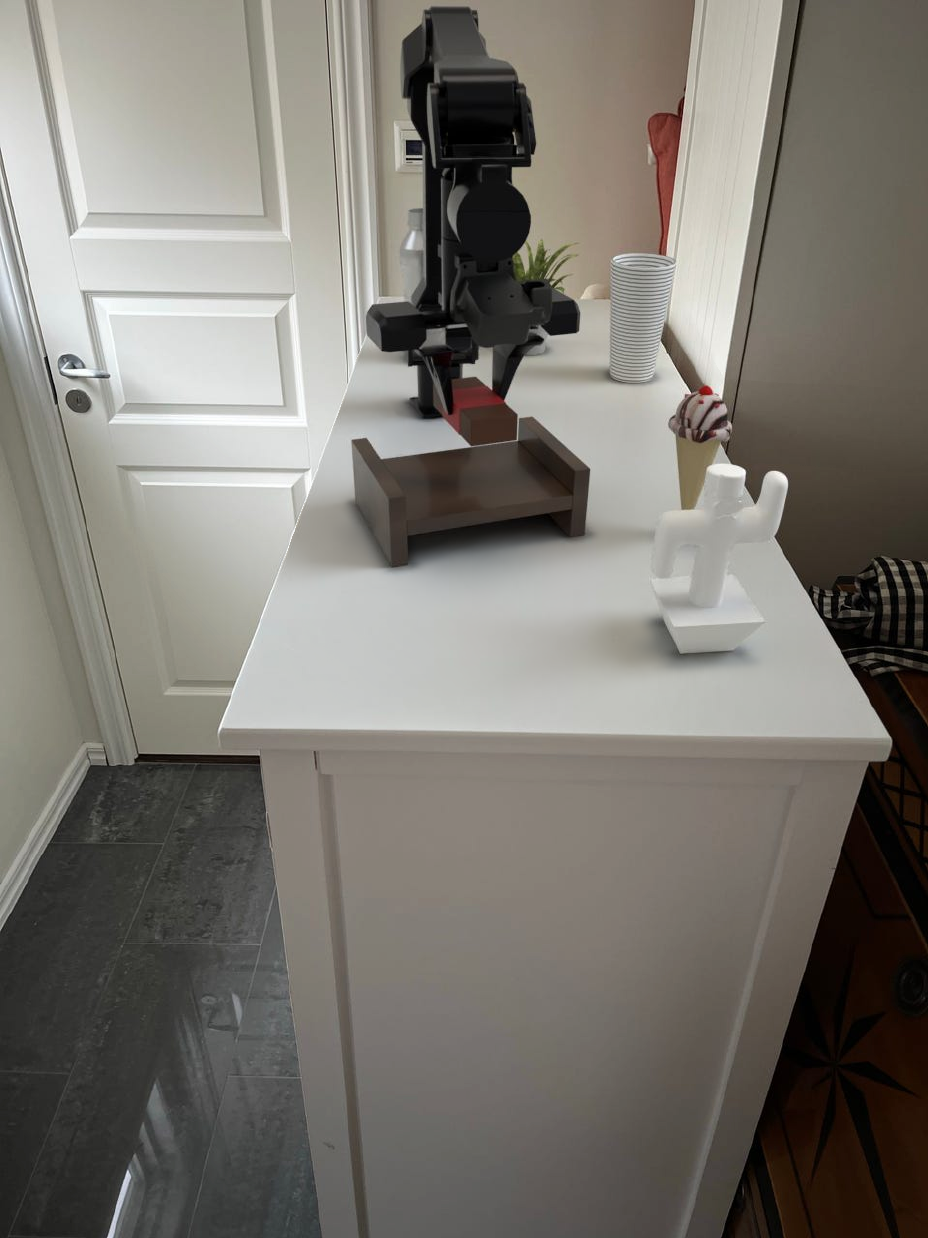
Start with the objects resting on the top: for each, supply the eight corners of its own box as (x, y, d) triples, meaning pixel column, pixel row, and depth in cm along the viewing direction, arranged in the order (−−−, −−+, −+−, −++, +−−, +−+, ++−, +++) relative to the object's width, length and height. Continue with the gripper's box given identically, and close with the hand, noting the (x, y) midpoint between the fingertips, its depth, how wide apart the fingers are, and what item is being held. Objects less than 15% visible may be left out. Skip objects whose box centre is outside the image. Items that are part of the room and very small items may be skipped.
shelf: (355, 502, 96) (351, 439, 93) (529, 477, 102) (532, 416, 98) (391, 567, 85) (388, 498, 82) (584, 534, 91) (590, 468, 87)
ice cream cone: (713, 551, 88) (740, 398, 80) (652, 544, 89) (673, 393, 81) (712, 523, 93) (737, 377, 85) (654, 518, 94) (674, 372, 86)
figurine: (630, 615, 79) (651, 450, 71) (738, 609, 80) (771, 446, 71) (654, 666, 73) (679, 492, 65) (770, 659, 74) (809, 486, 65)
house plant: (599, 346, 141) (609, 231, 132) (557, 371, 131) (564, 249, 122) (517, 331, 147) (521, 220, 138) (471, 353, 137) (472, 236, 128)
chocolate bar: (432, 406, 93) (432, 380, 91) (476, 400, 94) (476, 375, 92) (470, 447, 84) (470, 419, 82) (517, 440, 85) (518, 413, 84)
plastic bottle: (452, 352, 138) (452, 207, 127) (436, 367, 132) (434, 216, 121) (411, 348, 140) (408, 204, 128) (394, 362, 134) (389, 213, 123)
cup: (614, 362, 134) (625, 249, 126) (670, 372, 131) (685, 257, 122) (590, 379, 128) (600, 262, 120) (649, 390, 125) (663, 270, 116)
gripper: (396, 264, 71) (402, 455, 79) (615, 247, 76) (599, 428, 85) (359, 236, 79) (369, 411, 88) (559, 223, 85) (549, 389, 93)
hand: (473, 410), depth 88 cm, fingers closed on chocolate bar, 4 cm apart
